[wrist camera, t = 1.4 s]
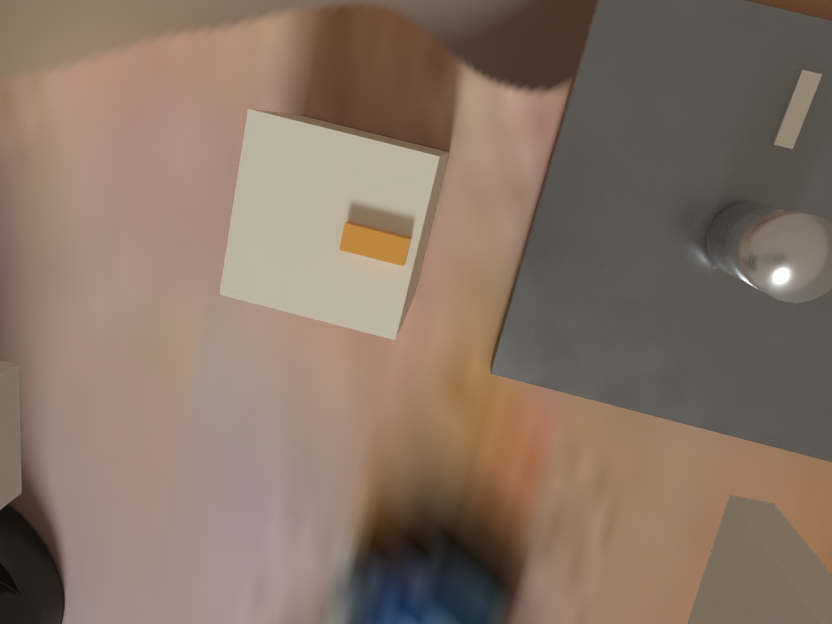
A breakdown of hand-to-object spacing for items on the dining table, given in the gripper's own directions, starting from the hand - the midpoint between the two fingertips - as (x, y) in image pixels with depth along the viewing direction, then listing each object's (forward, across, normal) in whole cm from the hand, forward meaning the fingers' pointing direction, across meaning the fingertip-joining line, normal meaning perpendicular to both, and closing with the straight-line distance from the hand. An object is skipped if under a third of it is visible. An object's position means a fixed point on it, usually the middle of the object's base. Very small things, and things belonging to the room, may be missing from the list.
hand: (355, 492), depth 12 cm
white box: (+20, -4, +2) cm, 20 cm away
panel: (+20, +13, +4) cm, 24 cm away
